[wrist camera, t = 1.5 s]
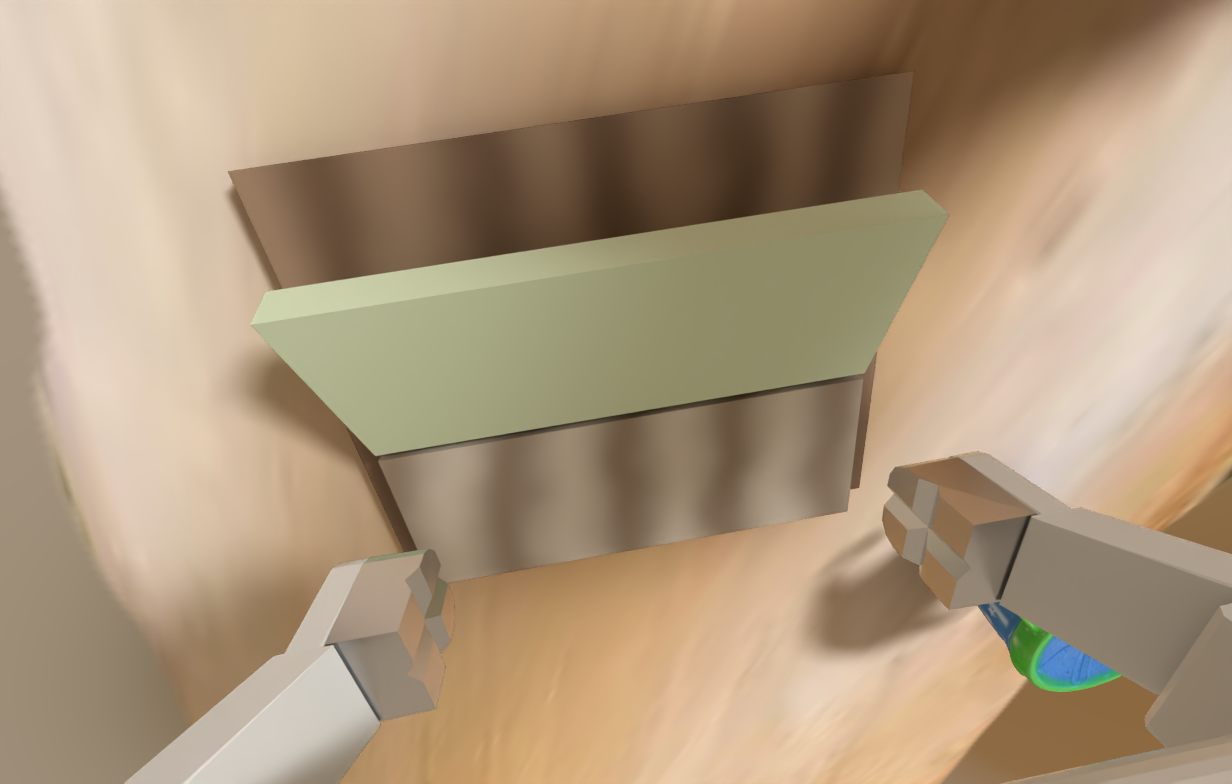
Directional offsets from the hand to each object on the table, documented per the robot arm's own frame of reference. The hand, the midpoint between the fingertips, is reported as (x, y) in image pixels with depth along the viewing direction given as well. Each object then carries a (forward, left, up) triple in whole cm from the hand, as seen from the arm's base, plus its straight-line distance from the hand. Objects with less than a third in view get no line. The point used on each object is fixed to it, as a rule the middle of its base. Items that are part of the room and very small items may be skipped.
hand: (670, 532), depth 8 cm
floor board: (0, +5, -20) cm, 20 cm away
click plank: (0, +2, -16) cm, 16 cm away
